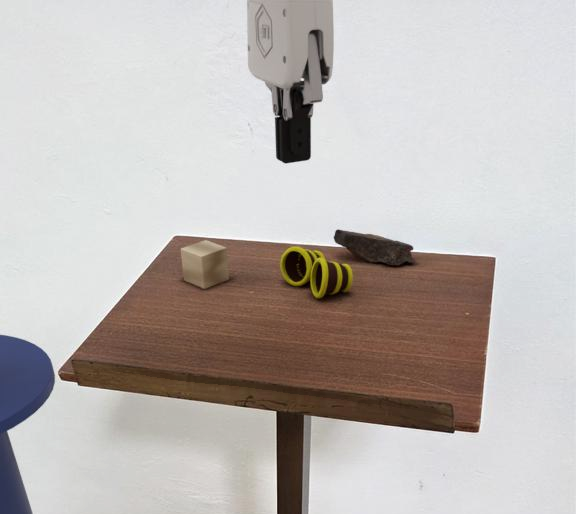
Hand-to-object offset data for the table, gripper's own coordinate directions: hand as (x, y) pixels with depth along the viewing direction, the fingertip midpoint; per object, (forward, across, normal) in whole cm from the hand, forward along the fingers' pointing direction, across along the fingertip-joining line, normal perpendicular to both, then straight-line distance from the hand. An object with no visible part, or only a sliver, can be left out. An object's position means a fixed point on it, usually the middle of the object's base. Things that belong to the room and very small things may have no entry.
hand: (293, 159), depth 76 cm
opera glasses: (+19, -11, +8) cm, 23 cm away
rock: (+19, -16, +20) cm, 32 cm away
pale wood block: (+19, -20, -4) cm, 28 cm away
